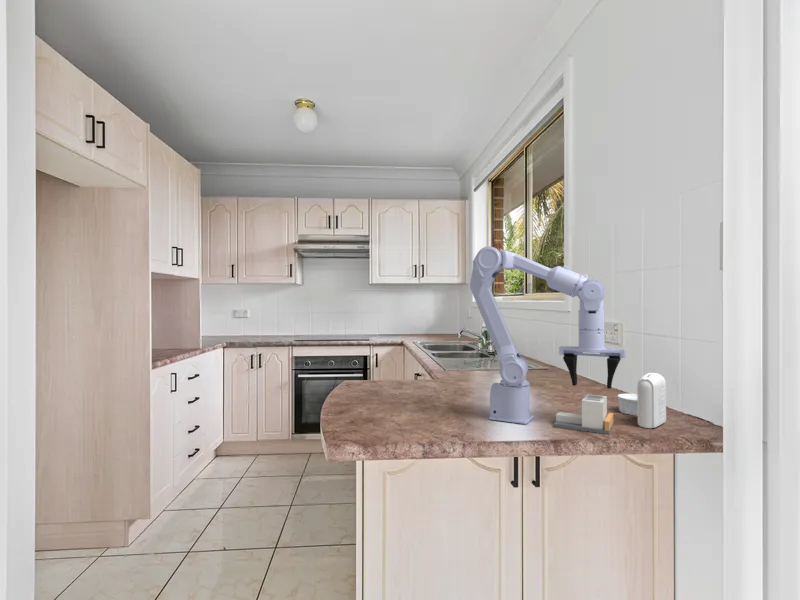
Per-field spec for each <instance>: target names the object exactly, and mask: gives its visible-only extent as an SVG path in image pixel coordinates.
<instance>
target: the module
mask: <svg viewBox="0 0 800 600" xmlns="http://www.w3.org/2000/svg"><path fill="white" fill-rule="evenodd" d="M581 414H582V427H589V428H597V429H604V419H605V417H607V415H608V396H607V395H597V394H589V393H588V394H586V395H585V396H584V397H583V398H582V400H581Z"/></svg>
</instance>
